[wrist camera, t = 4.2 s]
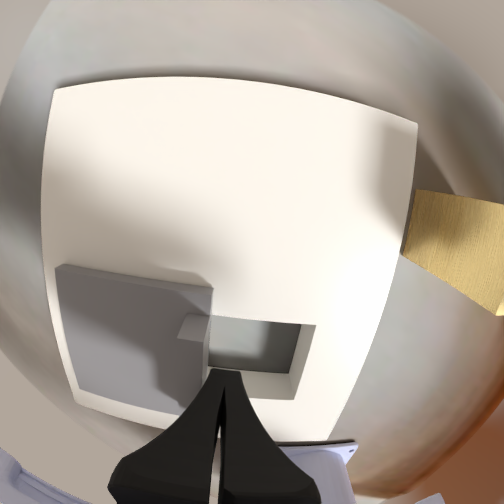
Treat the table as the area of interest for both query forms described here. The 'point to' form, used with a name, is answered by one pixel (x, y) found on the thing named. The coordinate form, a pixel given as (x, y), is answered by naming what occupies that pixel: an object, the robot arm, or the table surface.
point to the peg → (460, 244)
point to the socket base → (235, 219)
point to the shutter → (136, 336)
